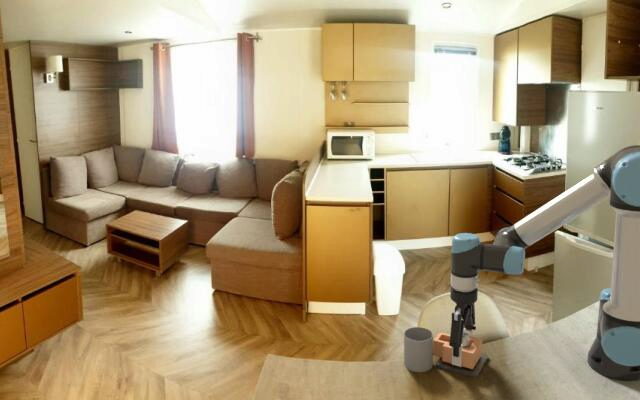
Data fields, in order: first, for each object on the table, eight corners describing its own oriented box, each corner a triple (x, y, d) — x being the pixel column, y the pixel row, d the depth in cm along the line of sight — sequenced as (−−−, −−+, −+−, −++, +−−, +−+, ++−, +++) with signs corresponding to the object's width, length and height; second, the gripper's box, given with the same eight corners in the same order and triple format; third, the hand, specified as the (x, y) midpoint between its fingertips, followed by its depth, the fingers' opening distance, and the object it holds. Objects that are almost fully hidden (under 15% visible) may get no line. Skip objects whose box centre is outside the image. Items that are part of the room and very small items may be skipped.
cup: (431, 357, 163) (431, 327, 161) (434, 372, 155) (434, 341, 153) (403, 356, 164) (403, 327, 162) (404, 371, 156) (404, 340, 154)
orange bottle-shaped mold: (481, 354, 160) (482, 339, 159) (472, 369, 153) (473, 353, 152) (441, 344, 167) (441, 329, 166) (431, 358, 160) (431, 342, 158)
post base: (488, 357, 161) (489, 330, 159) (476, 378, 152) (477, 349, 149) (449, 348, 168) (450, 322, 165) (435, 366, 158) (435, 339, 156)
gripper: (464, 304, 143) (462, 379, 148) (488, 275, 160) (485, 343, 166) (437, 298, 147) (436, 371, 152) (463, 271, 164) (461, 337, 170)
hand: (462, 357), depth 159 cm, fingers closed on orange bottle-shaped mold, 9 cm apart
